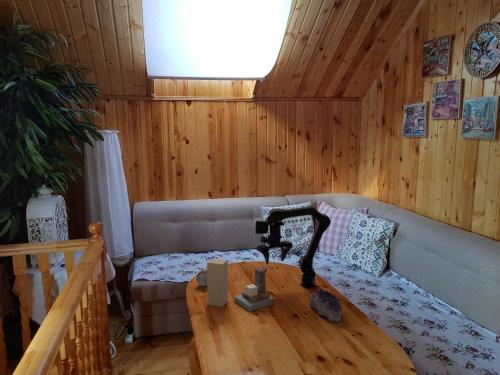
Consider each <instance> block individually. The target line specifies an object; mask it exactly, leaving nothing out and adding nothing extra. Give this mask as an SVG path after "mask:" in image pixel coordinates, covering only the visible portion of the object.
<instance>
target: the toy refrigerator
mask: <svg viewBox="0 0 500 375" xmlns="http://www.w3.org/2000/svg"><path fill="white" fill-rule="evenodd" d="M228 262H229V260H228V259H222V258H216V257H213V258H211V259H210V260H208V261H207V262H206V267H207V268H206V270H207V287H206V289H207V291H206V292H207V296H206V297H207V305H208V306H213V307H220V308H223V307H224V306H225V305H226V304H227V303H228V299H229V298H228V297H229V294H228V291H229V290H228V289H229V287H228V284H229V281H228V280H229V279H228V278H229V277H228V275H229V274H228V271H229V270H228V269H229V268H228V266H229V263H228Z"/></svg>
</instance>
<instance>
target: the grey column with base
mask: <svg viewBox="0 0 500 375" xmlns="http://www.w3.org/2000/svg"><path fill="white" fill-rule="evenodd" d="M254 285H255V286H257V287H258V295H255V296H252V297H250V296H248V295H247V294H246V290H245V291H242V292H241V294H242V295H243V297H247V298H248V299H250V300H251V302H252V303H253V302H256V301H259V300H262V299H266V298H269V297H270V296H271V293H270V292H268V291H266V270H265V269H264V268H262V267H260V268H259V267H258V268H256V269H254Z"/></svg>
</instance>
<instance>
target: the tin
mask: <svg viewBox="0 0 500 375" xmlns="http://www.w3.org/2000/svg"><path fill="white" fill-rule="evenodd" d="M195 279H196V282H197V284H198V285H199V286H201V287H206V288H207V269H203V270H200V271H198V273H197V275H196V278H195Z"/></svg>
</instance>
